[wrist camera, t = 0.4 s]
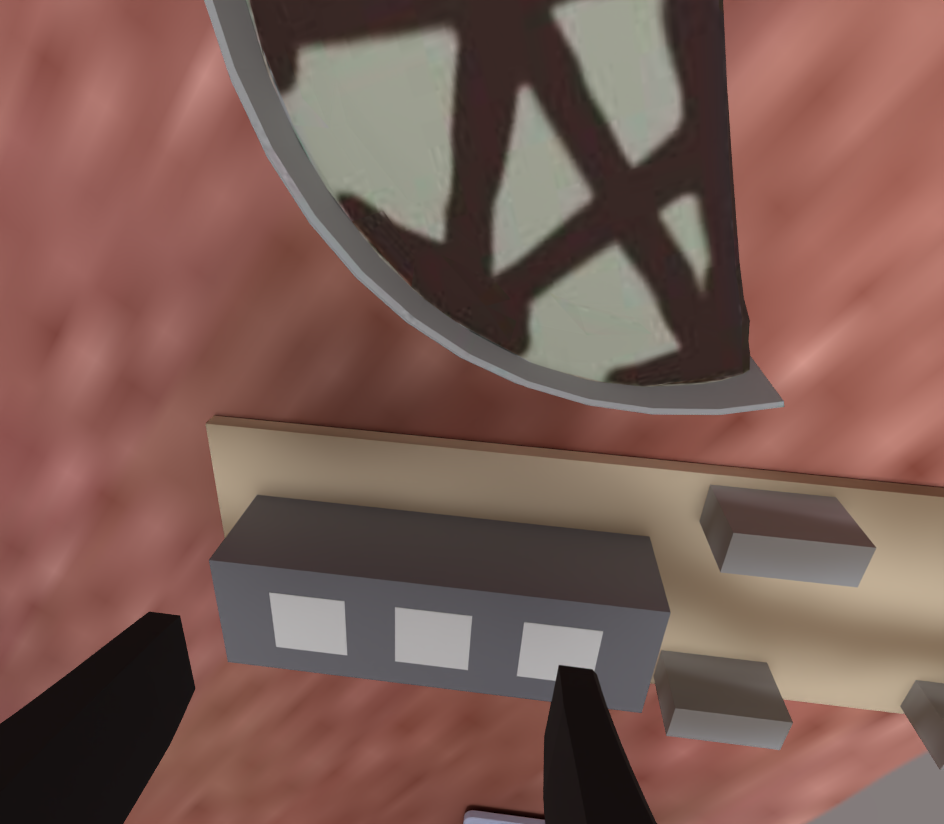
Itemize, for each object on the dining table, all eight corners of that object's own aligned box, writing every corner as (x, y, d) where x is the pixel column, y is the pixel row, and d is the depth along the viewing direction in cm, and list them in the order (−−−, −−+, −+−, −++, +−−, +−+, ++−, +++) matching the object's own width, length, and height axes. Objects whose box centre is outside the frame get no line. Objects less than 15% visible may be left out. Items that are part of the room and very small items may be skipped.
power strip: (626, 629, 22) (641, 713, 19) (269, 588, 23) (227, 662, 20) (649, 536, 20) (670, 612, 17) (257, 494, 21) (208, 560, 18)
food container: (290, -195, 13) (-237, -877, 4) (563, -322, 12) (655, -1699, 3) (449, 321, 18) (368, 517, 9) (652, 270, 17) (786, 441, 8)
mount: (1057, 719, 23) (1129, 801, 20) (247, 622, 25) (211, 685, 22) (1220, 515, 18) (1340, 584, 16) (214, 415, 20) (164, 461, 18)
